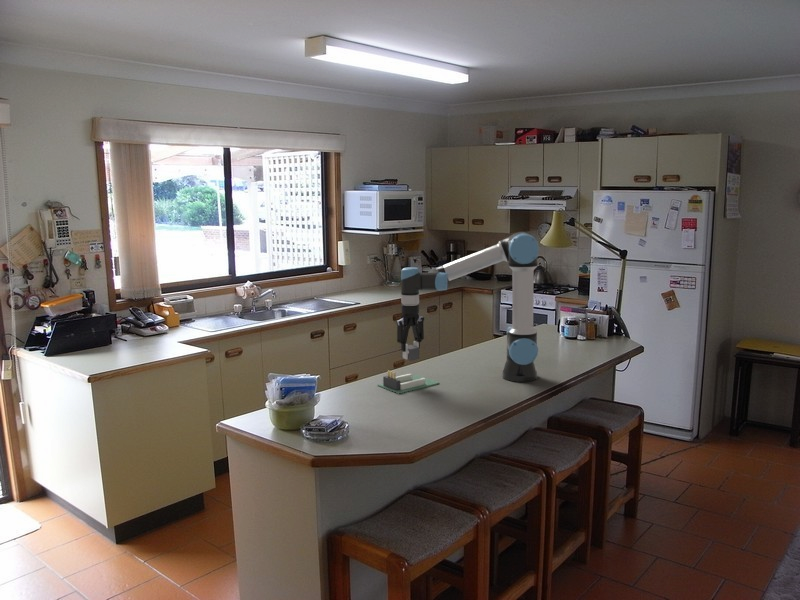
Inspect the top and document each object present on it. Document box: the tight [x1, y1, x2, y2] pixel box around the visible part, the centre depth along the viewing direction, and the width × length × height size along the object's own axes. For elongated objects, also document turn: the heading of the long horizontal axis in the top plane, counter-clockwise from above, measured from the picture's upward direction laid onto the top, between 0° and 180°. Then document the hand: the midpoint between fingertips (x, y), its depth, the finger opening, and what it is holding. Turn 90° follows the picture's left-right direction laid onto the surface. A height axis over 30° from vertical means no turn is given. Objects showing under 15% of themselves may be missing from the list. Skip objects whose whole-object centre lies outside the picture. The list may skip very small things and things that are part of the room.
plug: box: [401, 344, 420, 362], centre depth 286 cm, size 6×5×5 cm
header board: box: [377, 369, 440, 394], centre depth 287 cm, size 15×22×8 cm
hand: (410, 357), depth 286 cm, fingers closed on plug, 5 cm apart
